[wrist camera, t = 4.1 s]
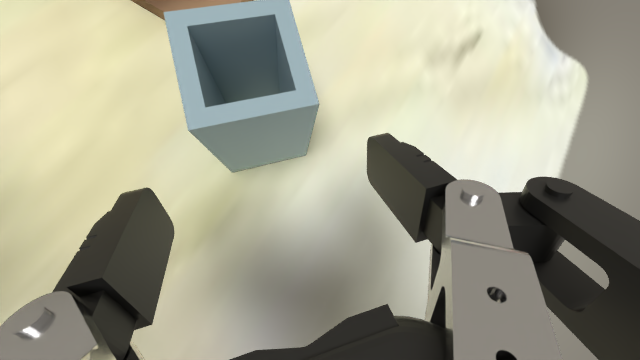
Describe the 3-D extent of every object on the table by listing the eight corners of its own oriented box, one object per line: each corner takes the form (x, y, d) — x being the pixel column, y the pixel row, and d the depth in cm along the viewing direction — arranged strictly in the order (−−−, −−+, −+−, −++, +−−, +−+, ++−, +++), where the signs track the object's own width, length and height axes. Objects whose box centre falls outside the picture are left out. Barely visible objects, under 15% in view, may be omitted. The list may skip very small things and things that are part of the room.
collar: (232, 172, 20) (188, 130, 11) (216, 102, 21) (163, 12, 12) (305, 155, 21) (319, 103, 12) (287, 89, 22) (287, -4, 13)
